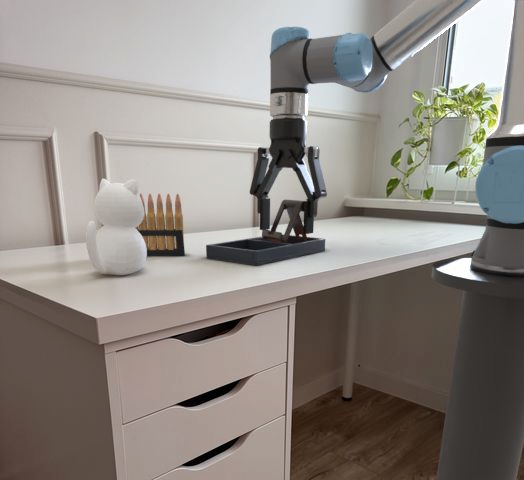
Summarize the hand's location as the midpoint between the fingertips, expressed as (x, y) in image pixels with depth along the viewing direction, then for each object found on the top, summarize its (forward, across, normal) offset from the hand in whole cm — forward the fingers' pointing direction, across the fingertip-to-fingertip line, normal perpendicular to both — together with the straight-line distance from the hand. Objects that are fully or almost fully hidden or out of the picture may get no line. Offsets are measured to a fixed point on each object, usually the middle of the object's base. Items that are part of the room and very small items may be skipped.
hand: (285, 231), depth 110 cm
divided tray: (+4, 0, -6) cm, 7 cm away
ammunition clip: (+4, -16, -22) cm, 28 cm away
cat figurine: (+4, -7, -39) cm, 40 cm away
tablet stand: (+2, 0, 0) cm, 2 cm away
